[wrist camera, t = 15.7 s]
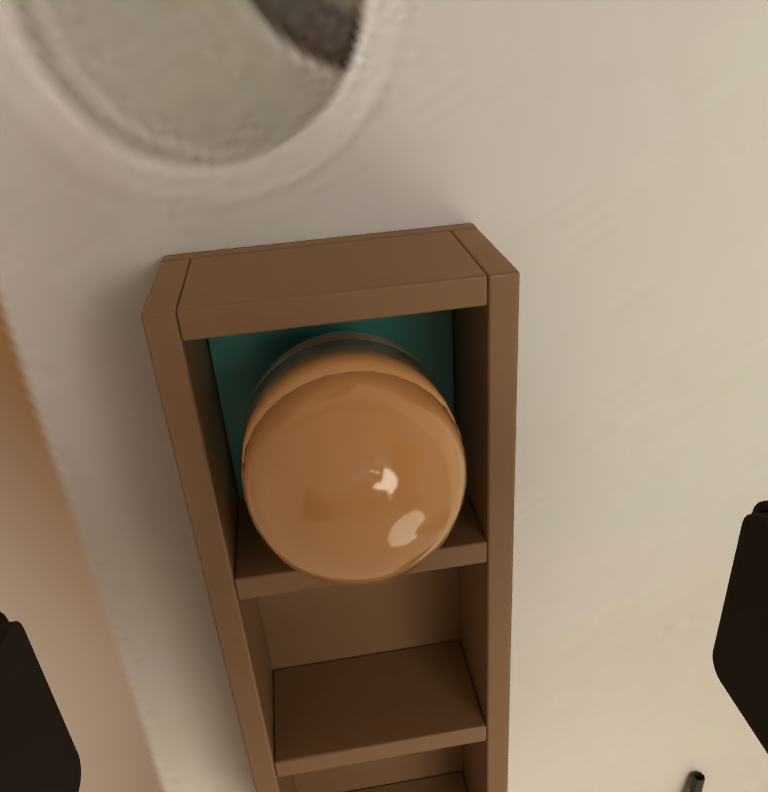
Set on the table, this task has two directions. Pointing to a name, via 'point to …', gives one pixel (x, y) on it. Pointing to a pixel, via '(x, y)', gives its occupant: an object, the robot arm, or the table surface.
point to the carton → (343, 605)
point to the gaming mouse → (697, 782)
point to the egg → (351, 460)
